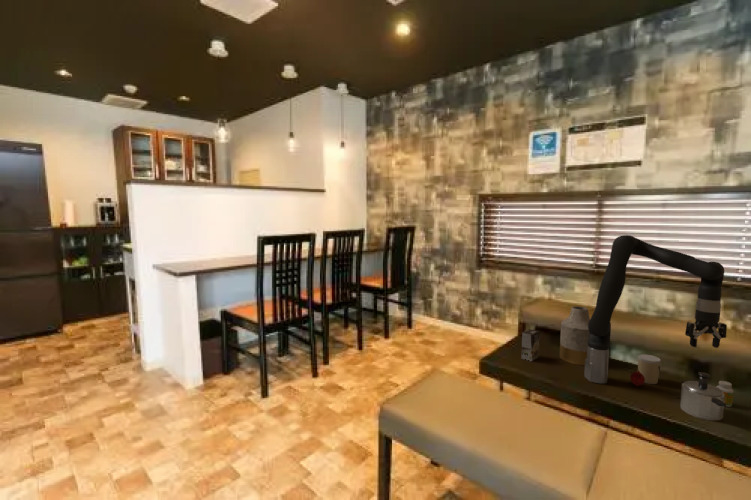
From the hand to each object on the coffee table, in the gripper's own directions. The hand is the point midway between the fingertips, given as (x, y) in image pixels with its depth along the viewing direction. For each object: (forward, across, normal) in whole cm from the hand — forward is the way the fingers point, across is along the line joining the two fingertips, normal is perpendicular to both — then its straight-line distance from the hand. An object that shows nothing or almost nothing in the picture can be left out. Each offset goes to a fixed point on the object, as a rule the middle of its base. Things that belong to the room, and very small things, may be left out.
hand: (704, 346), depth 149 cm
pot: (+28, 0, -1) cm, 28 cm away
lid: (+18, 0, -1) cm, 18 cm away
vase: (+29, -26, +52) cm, 65 cm away
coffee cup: (+29, -3, +27) cm, 39 cm away
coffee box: (+29, -52, +52) cm, 80 cm away
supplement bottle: (+28, +15, +6) cm, 33 cm away
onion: (+29, -12, +21) cm, 37 cm away
